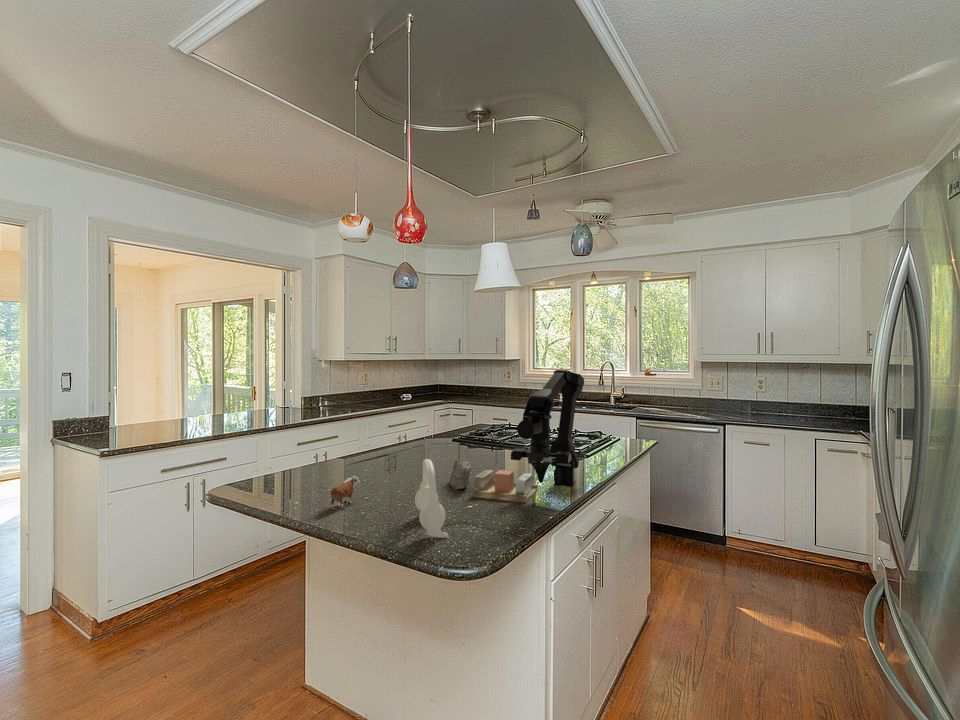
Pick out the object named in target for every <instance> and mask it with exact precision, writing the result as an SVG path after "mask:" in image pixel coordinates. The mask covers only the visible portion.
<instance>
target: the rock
mask: <svg viewBox="0 0 960 720" xmlns="http://www.w3.org/2000/svg"><path fill="white" fill-rule="evenodd" d="M471 470H472V465H471V461H470V460H459V459H457V460H456V461H455V462H454V464H453V466H452V472H451V474H450V479H449V485H450V486H451V487H452V489H454V490H455V491H457V490H462V489H465V488H467V487H468V484H469V478H470V472H471Z"/></svg>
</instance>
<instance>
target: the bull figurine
mask: <svg viewBox="0 0 960 720" xmlns="http://www.w3.org/2000/svg"><path fill="white" fill-rule="evenodd" d="M360 484H361V481H360V480H359V477H357V476H356V475H352V476H348V477H347V478H346V479H345V480H344V481H342V483H340V484H338V485H337V486H334V487H333V488H331V491H330V498H331V501H330V505H331V507H333V506H334V504H335V503H336V504H337V506H338V507H339V508H341V506H344V504H343V503H344V500H347V498H348V500H347V501H348V502H351V503H352V496H353V493H354V489H355V487H356V486H357V485H360ZM348 502H347V503H348ZM331 507H330V508H331ZM334 507H335V506H334ZM344 507H345V506H344Z"/></svg>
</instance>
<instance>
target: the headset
mask: <svg viewBox="0 0 960 720" xmlns="http://www.w3.org/2000/svg"><path fill="white" fill-rule="evenodd" d="M435 472H436V471H435V467H434V464H433V461H432V460H431V459H429V458H426V459H423V460H422V473H421V474H422V475H421V476H422V479H421V483H420V484H419V489H418V490H417V491H416V492H415V497H414V504H415V507H416V509H417V510H418V511H419V522H420V523H419V524H420V525H421V526H422V528H424V529H425V530H426V533H427V536H429V537H434V538H442V539H444V538H448V537H449V534H448V533H447V532H443V531H442V529H441V527H442V526H443V525H444V524H445V523H444V522H445V520H446V510H445V508H444V506H443V505H442V504H441V503H440V502H439V496H438V493H437V481H436V473H435Z"/></svg>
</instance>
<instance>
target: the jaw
mask: <svg viewBox="0 0 960 720" xmlns="http://www.w3.org/2000/svg"><path fill="white" fill-rule="evenodd" d="M514 481H515V487H516V494H519V495H527V494H528V493H529V492H530V491H531V490H532V489H533V484H534V473H528V472H527V473H526V472H524V473H523V474H522V475H520V476H519V477H518V478H516V480H514Z"/></svg>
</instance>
